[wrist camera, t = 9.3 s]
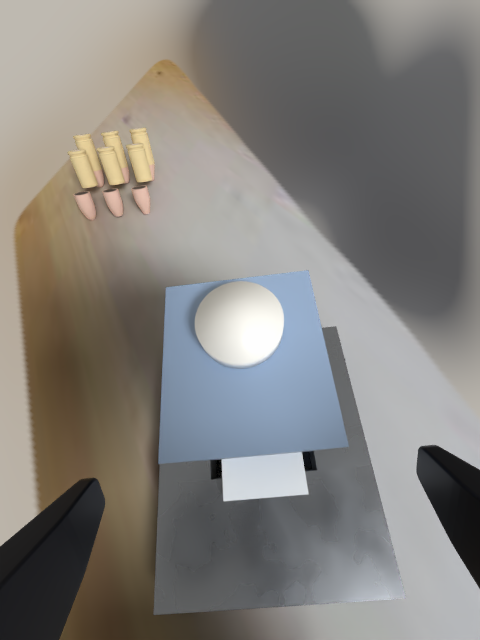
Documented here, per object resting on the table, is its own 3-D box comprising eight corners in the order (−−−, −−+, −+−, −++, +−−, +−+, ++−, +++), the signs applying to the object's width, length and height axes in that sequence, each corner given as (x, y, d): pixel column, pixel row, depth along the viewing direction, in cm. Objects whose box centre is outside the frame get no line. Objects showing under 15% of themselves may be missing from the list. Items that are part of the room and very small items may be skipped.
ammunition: (73, 128, 28) (53, 182, 25) (145, 120, 28) (135, 173, 24) (98, 171, 33) (84, 222, 29) (161, 165, 32) (154, 216, 29)
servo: (303, 489, 17) (385, 567, 5) (229, 495, 17) (141, 584, 5) (279, 331, 21) (292, 180, 10) (220, 338, 22) (163, 197, 10)
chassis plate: (389, 581, 15) (405, 598, 13) (166, 596, 15) (153, 615, 14) (330, 337, 21) (336, 326, 19) (173, 354, 22) (164, 345, 20)
